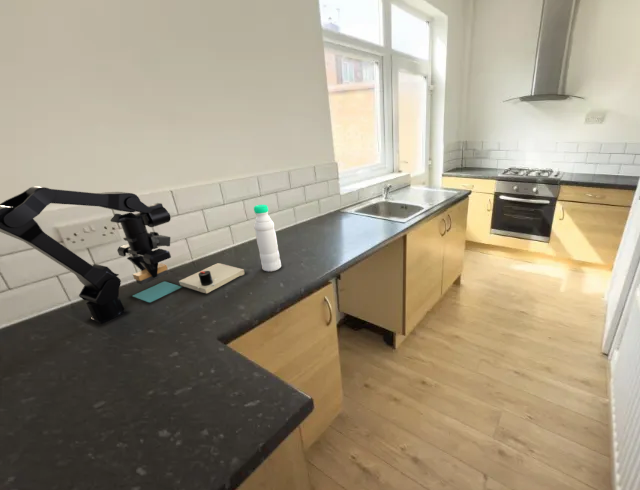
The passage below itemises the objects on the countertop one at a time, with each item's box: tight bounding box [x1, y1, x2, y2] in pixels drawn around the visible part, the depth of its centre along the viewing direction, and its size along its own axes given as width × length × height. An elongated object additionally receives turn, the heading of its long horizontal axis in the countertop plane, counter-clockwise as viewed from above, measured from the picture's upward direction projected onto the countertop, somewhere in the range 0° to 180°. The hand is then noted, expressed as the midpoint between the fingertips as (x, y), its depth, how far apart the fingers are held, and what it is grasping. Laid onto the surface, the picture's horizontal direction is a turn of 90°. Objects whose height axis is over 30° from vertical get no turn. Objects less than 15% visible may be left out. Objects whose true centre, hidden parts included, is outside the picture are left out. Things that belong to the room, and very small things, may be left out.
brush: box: [132, 262, 169, 286], centre depth 106 cm, size 9×3×3 cm, turn 154°
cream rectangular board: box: [178, 262, 246, 294], centre depth 115 cm, size 17×15×2 cm
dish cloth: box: [132, 280, 182, 304], centre depth 109 cm, size 11×10×1 cm
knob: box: [198, 270, 213, 286], centre depth 108 cm, size 4×4×4 cm
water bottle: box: [253, 204, 282, 273], centre depth 118 cm, size 7×7×25 cm
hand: (152, 276), depth 106 cm, fingers closed on brush, 3 cm apart
